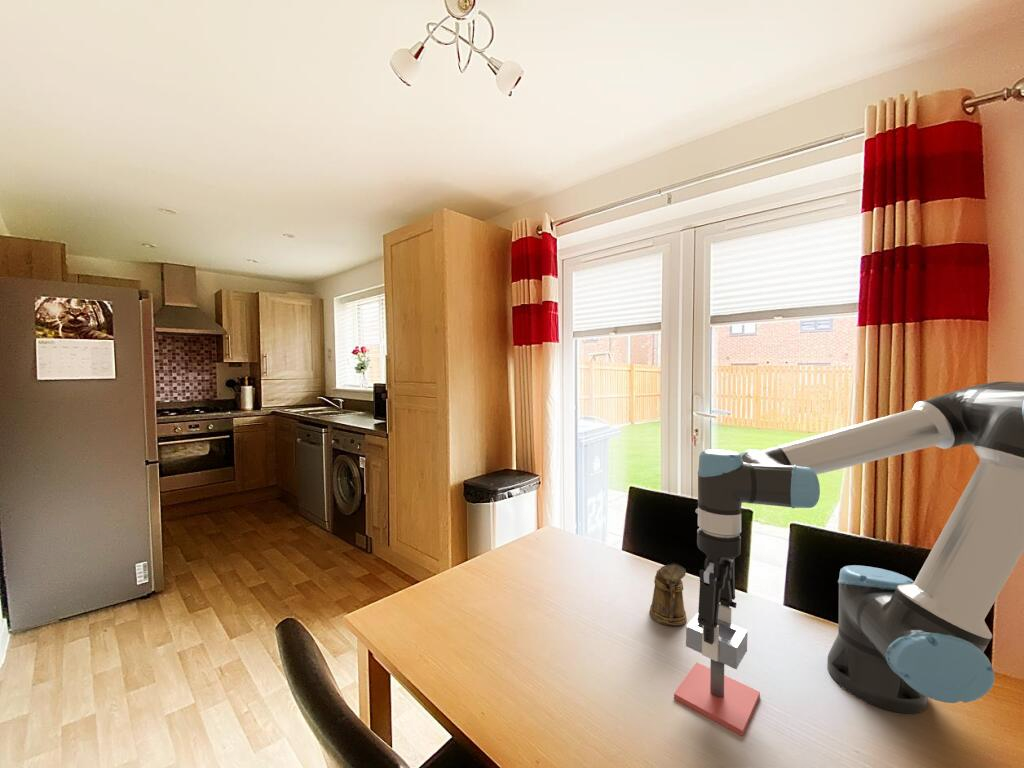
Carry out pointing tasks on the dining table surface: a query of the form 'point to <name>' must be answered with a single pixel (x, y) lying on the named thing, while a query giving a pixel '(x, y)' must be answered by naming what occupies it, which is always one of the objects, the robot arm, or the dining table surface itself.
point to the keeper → (718, 696)
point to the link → (720, 641)
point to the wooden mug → (669, 596)
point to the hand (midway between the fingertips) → (716, 647)
